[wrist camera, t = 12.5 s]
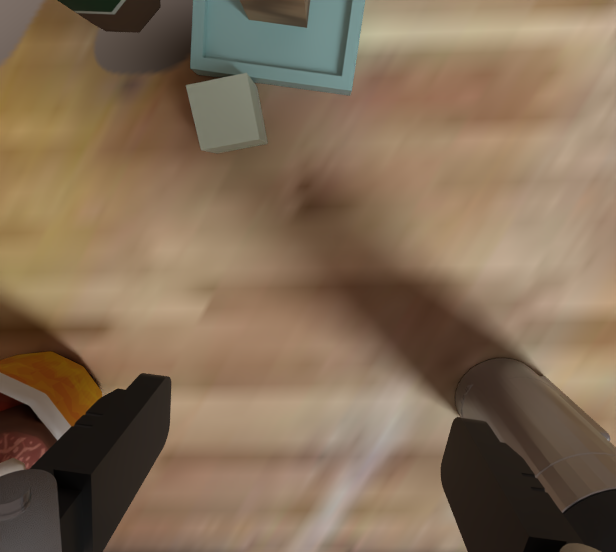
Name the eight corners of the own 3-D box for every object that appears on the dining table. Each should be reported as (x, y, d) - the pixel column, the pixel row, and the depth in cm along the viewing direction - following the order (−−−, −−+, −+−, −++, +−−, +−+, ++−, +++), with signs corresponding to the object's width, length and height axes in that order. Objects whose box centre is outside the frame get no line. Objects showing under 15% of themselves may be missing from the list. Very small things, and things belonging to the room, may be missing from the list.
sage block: (257, 87, 34) (246, 72, 29) (268, 144, 35) (259, 139, 31) (204, 97, 34) (185, 85, 30) (217, 153, 36) (201, 150, 31)
